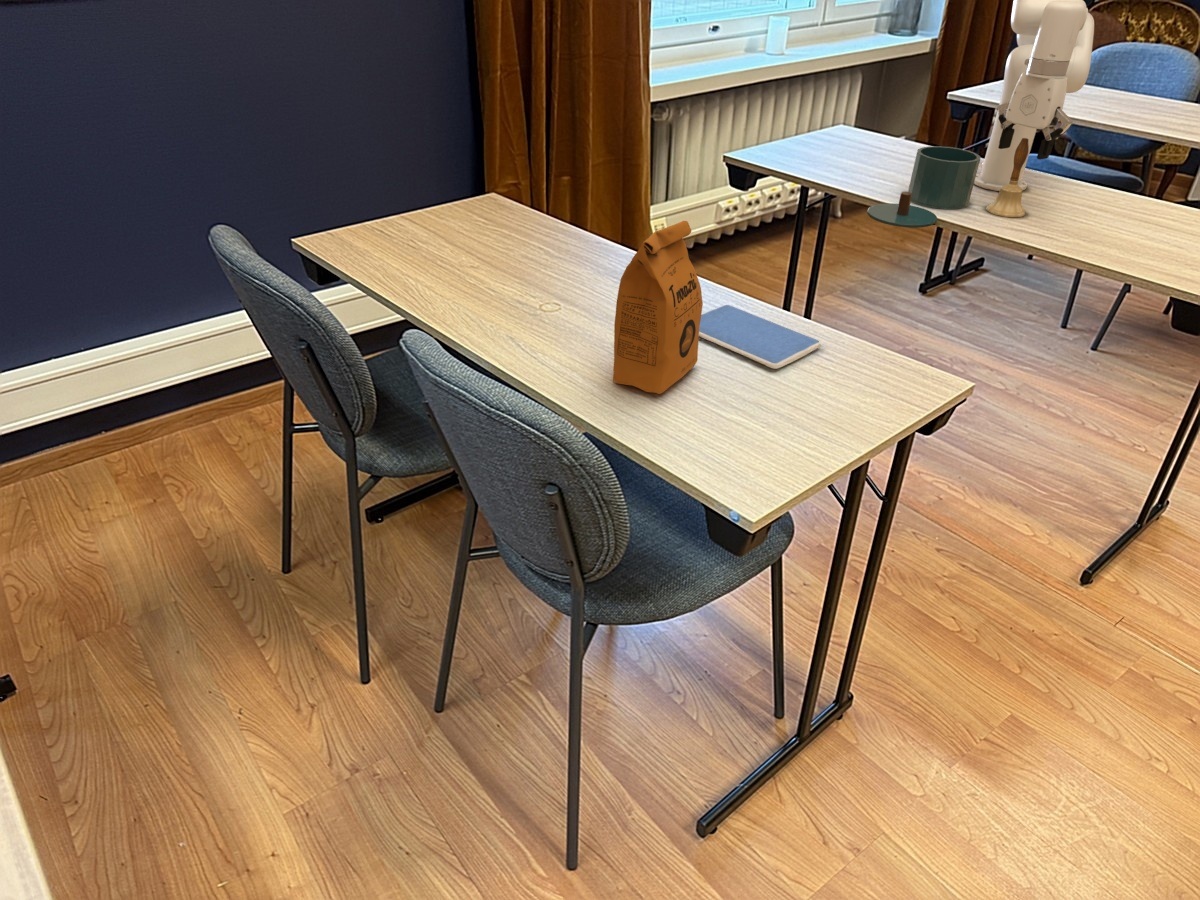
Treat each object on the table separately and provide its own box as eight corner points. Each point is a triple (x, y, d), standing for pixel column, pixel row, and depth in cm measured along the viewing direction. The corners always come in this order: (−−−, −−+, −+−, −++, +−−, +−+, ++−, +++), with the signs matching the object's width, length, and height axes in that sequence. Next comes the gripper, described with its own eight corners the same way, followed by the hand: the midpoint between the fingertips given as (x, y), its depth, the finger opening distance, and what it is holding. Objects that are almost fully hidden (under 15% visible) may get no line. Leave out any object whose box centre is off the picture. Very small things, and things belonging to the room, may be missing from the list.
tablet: (676, 330, 138) (676, 322, 137) (726, 309, 145) (726, 301, 144) (774, 373, 126) (775, 365, 126) (822, 348, 134) (824, 340, 133)
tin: (894, 195, 202) (904, 150, 196) (934, 188, 208) (945, 143, 203) (940, 212, 193) (952, 165, 187) (980, 204, 199) (993, 157, 193)
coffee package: (707, 371, 126) (723, 225, 114) (659, 404, 118) (671, 250, 106) (651, 351, 131) (661, 209, 119) (602, 381, 123) (607, 232, 111)
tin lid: (852, 214, 190) (857, 188, 187) (899, 205, 196) (904, 180, 193) (902, 234, 180) (909, 207, 176) (950, 224, 186) (957, 198, 183)
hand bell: (990, 215, 192) (1011, 142, 183) (982, 204, 198) (1002, 132, 190) (1029, 219, 191) (1052, 144, 182) (1020, 207, 197) (1041, 135, 189)
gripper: (1000, 62, 182) (978, 146, 192) (1074, 76, 170) (1047, 164, 179) (1022, 61, 186) (1000, 142, 195) (1096, 74, 173) (1069, 161, 183)
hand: (1022, 153), depth 187 cm, fingers open, 9 cm apart
